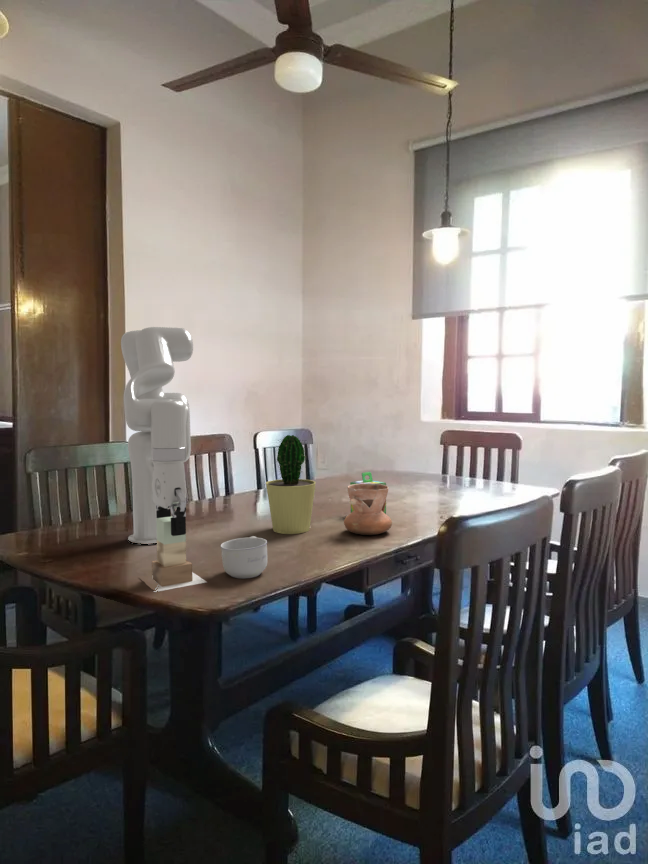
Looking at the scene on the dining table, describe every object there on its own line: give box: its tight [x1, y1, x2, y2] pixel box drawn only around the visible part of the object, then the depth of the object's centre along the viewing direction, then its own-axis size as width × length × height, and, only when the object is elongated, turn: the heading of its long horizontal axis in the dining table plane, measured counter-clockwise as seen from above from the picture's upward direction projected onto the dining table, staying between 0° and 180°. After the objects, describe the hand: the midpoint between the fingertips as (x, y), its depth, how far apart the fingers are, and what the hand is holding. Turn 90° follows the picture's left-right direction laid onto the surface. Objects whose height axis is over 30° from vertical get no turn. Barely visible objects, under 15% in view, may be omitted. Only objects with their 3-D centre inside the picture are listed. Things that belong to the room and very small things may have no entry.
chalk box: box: [349, 471, 387, 515], centre depth 210 cm, size 9×9×15 cm
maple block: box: [156, 540, 187, 567], centre depth 139 cm, size 5×5×5 cm
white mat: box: [153, 571, 207, 593], centre depth 139 cm, size 12×12×1 cm
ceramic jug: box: [343, 483, 393, 536], centre depth 186 cm, size 18×14×14 cm
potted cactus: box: [265, 434, 317, 535], centre depth 189 cm, size 15×15×30 cm
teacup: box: [220, 535, 268, 579], centre depth 145 cm, size 14×11×8 cm
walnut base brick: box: [151, 559, 193, 587], centre depth 139 cm, size 7×7×4 cm
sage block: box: [156, 515, 187, 545], centre depth 138 cm, size 5×5×5 cm
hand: (171, 530), depth 138 cm, fingers open, 9 cm apart
